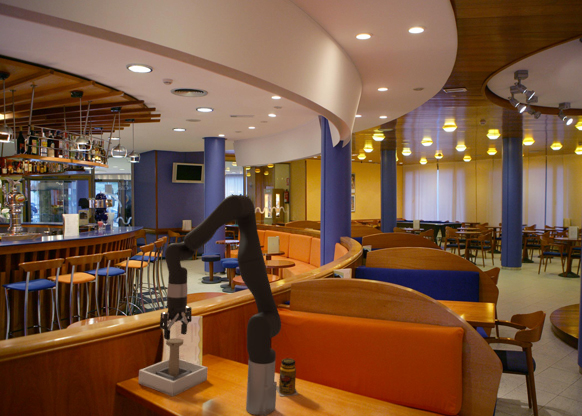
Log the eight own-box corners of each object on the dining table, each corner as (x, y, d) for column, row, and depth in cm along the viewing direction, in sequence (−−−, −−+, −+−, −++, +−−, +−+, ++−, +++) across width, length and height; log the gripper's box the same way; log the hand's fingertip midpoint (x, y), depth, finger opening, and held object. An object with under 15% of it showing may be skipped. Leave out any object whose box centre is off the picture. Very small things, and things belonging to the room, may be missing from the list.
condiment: (280, 396, 158) (282, 364, 158) (274, 387, 166) (276, 356, 166) (299, 395, 160) (300, 363, 160) (292, 385, 168) (294, 355, 168)
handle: (180, 382, 163) (181, 343, 163) (163, 381, 163) (164, 342, 163) (183, 376, 168) (184, 338, 168) (167, 376, 168) (168, 338, 168)
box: (206, 379, 169) (207, 367, 169) (172, 396, 153) (173, 382, 153) (173, 368, 178) (174, 356, 178) (138, 383, 163) (139, 370, 162)
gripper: (170, 299, 157) (168, 343, 157) (197, 293, 170) (195, 334, 170) (155, 296, 161) (154, 339, 161) (183, 290, 173) (181, 330, 173)
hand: (175, 336), depth 165 cm, fingers open, 8 cm apart
